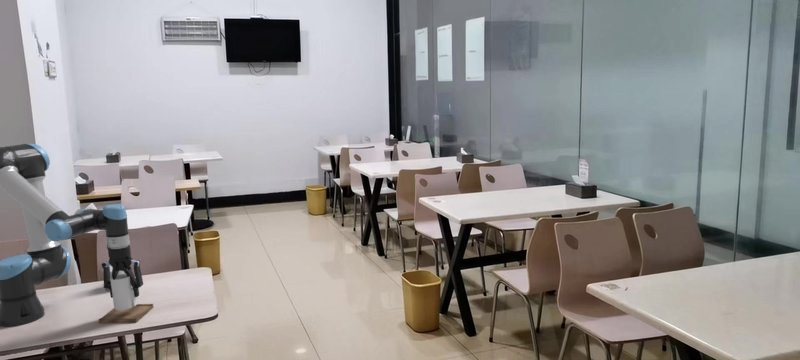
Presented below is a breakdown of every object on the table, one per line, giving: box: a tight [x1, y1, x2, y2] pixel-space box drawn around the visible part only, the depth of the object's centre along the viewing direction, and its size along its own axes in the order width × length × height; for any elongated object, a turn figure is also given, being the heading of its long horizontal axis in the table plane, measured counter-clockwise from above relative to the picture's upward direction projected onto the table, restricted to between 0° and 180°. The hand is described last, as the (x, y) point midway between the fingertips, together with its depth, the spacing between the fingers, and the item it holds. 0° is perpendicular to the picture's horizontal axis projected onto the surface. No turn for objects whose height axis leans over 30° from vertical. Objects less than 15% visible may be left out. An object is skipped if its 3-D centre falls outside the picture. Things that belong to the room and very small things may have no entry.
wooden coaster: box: [98, 303, 154, 324], centre depth 220 cm, size 14×14×2 cm
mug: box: [110, 274, 133, 310], centre depth 219 cm, size 10×7×12 cm, turn 165°
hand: (126, 305), depth 220 cm, fingers closed on mug, 6 cm apart
